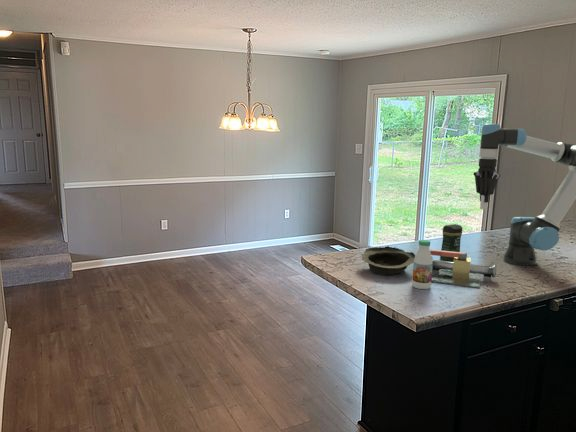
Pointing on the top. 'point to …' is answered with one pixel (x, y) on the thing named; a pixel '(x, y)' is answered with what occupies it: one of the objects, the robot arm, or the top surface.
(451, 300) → the top surface
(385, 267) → the stone bowl
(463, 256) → the lever
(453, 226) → the coffee jar
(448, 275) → the pipe run
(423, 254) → the milk bottle
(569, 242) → the top surface
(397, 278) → the top surface
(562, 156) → the robot arm
